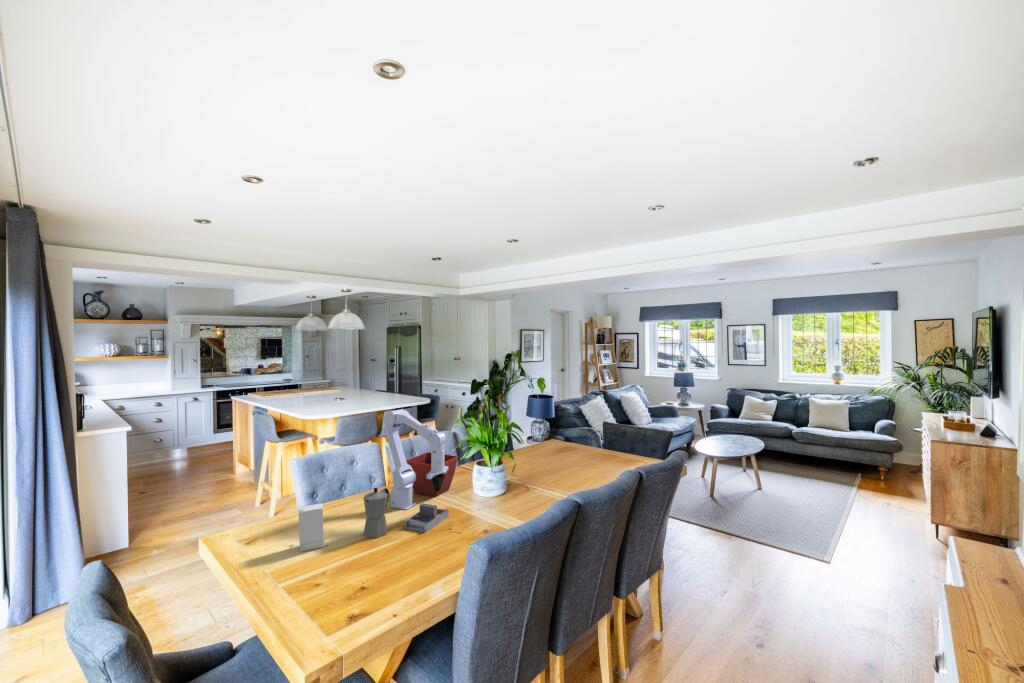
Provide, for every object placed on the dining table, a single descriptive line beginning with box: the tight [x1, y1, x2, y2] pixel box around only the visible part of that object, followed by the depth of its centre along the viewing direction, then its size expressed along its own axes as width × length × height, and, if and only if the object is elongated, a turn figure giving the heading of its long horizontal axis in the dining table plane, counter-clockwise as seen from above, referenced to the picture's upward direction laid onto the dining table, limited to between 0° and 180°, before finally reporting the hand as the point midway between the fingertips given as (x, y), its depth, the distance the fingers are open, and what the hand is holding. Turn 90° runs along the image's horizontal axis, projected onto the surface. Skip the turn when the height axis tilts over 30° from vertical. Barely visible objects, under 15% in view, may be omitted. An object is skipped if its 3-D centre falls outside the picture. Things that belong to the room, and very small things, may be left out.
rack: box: [404, 508, 450, 534], centre depth 193 cm, size 10×18×4 cm, turn 158°
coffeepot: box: [363, 487, 390, 539], centre depth 183 cm, size 15×9×18 cm, turn 162°
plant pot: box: [406, 451, 458, 498], centre depth 232 cm, size 19×19×17 cm
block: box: [418, 502, 438, 518], centre depth 193 cm, size 7×2×6 cm, turn 68°
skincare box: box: [298, 503, 325, 552], centre depth 170 cm, size 8×6×15 cm
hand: (437, 491), depth 203 cm, fingers closed
